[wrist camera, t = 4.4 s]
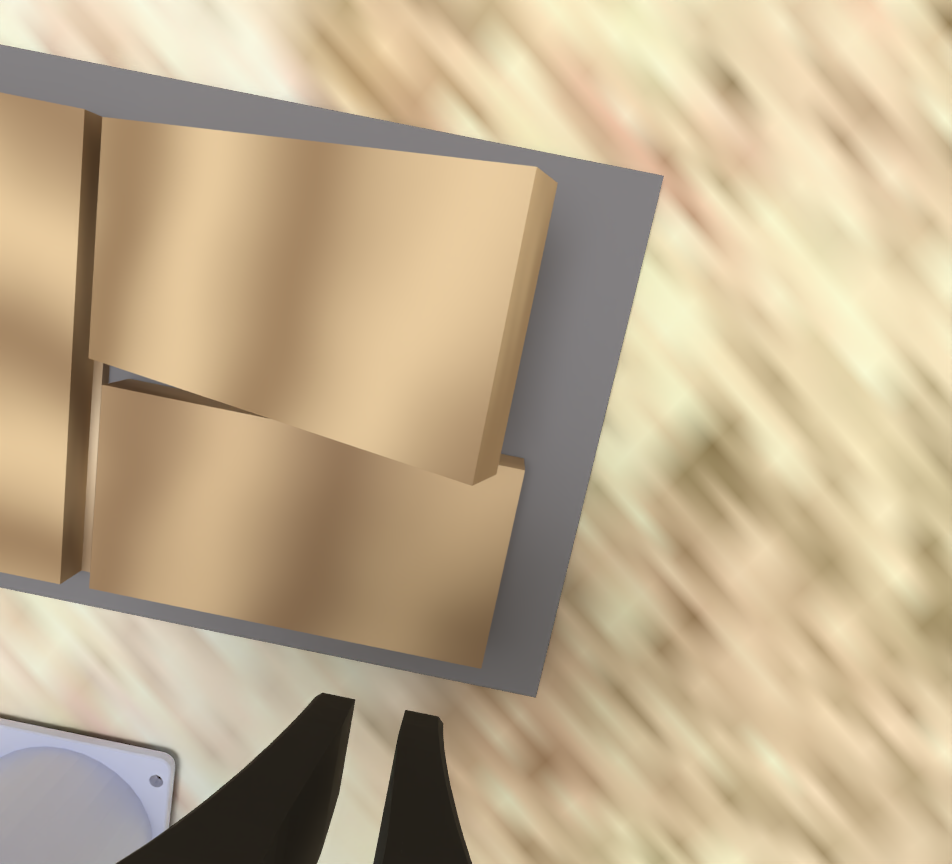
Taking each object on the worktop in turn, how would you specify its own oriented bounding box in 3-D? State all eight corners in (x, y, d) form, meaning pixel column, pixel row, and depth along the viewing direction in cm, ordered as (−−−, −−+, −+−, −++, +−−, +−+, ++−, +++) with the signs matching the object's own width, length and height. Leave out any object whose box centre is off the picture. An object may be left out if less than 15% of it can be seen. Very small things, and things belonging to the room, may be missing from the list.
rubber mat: (535, 690, 22) (535, 697, 22) (-119, 556, 23) (-130, 560, 22) (660, 178, 19) (663, 175, 18) (-127, 22, 19) (-141, 16, 18)
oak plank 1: (130, 357, 20) (88, 358, 19) (146, 132, 19) (102, 117, 17) (496, 474, 15) (472, 486, 14) (557, 183, 14) (536, 166, 13)
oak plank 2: (115, 569, 22) (89, 588, 20) (129, 378, 20) (101, 384, 19) (482, 645, 22) (481, 668, 20) (524, 458, 20) (525, 470, 19)
